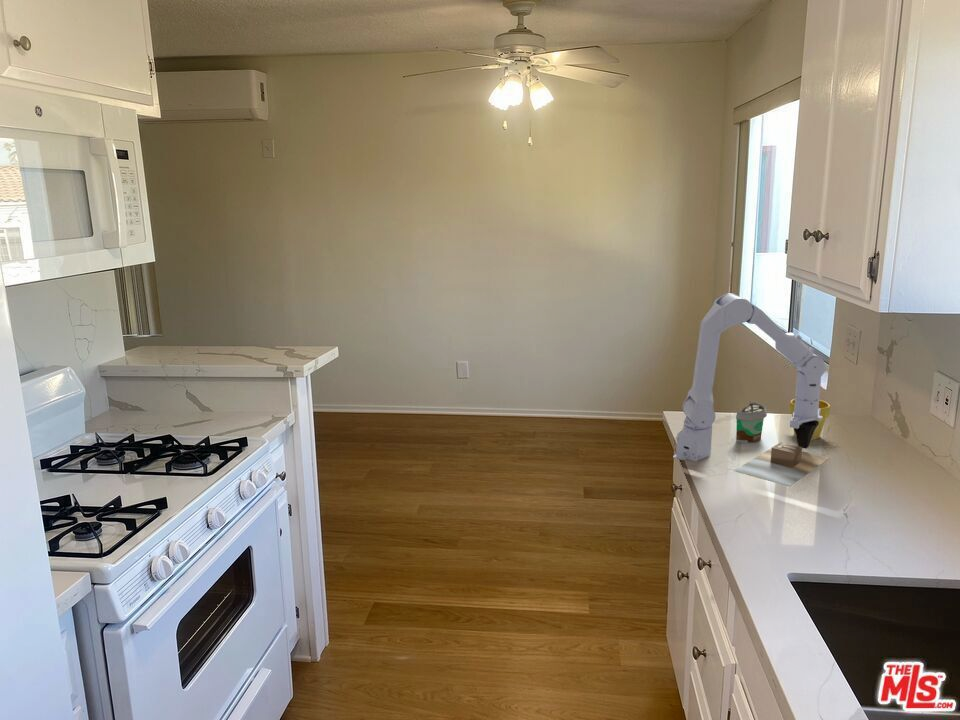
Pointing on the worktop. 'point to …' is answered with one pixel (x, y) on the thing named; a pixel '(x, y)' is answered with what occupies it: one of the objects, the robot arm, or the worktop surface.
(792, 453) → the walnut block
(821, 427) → the plant pot
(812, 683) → the worktop surface
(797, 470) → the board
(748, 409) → the food container
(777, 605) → the worktop surface
